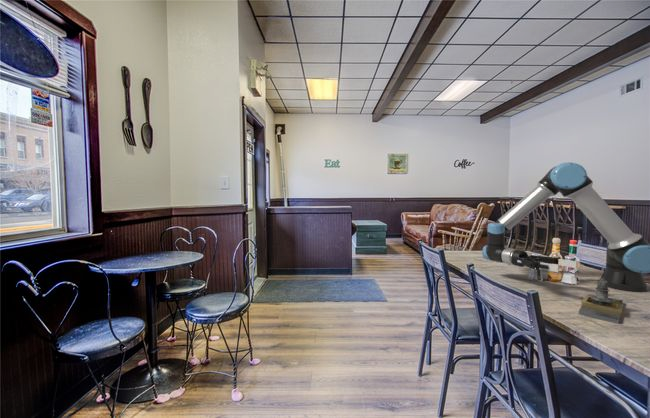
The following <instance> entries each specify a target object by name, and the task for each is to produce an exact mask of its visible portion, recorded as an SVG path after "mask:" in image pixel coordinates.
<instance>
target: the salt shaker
mask: <svg viewBox="0 0 650 418" xmlns="http://www.w3.org/2000/svg"><path fill="white" fill-rule="evenodd" d="M596 284H597V285H596V287H595V289H596V294H595V295H596V296H594V297H591V298H592V301H593V303H594V304H599V305H604V306H611V304H612V302H613V301H612V300H610V299H609V298H610V297H609V292H610V289H609V287H608V281H606V280H604V278H603V277H602V279H598V280H597V283H596Z"/></svg>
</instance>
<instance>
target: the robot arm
mask: <svg viewBox="0 0 650 418" xmlns="http://www.w3.org/2000/svg"><path fill="white" fill-rule="evenodd" d="M593 184H594V182H593V180H592V179H591V177H589V176H588V173H587V170H586V169H585V168H584V166H582V165H581V164H578V163H575V162H562V163H560V164H558V165H556V166H554V167H552V168H551V169H550V170H549V171H548V172H547V173H546V174H545V176H543V177H542V178H541V179H540V180H539V181H538V182H537V184H536V186H535V187H534V188H533V189H532V190H531V191H530V192H529V193H528V194H526V195H525V196H524V197H523V198H521V199H520V200H519V201H518V202H516V204H514V206H512V207H511V208H510V209H508V210H507V211H506V213H504V214H503V215H502V216H500V217H499V218H498V219H497V220H496V221H495V222H490V223H488V224H487V229H486V230H487V245H484V246H483V248H482V250H481V255H482V257H483V258H484V259H485V260H488V261H491V262H496V263H503V264H507V265H508V266H511V265H513V266H516V267H521V268H522V267H527V268H530V269H533V270H534V269H535V270H536V271H540V270H544V271H549V272H553V273H554V272H555V273H560V266H563V267H568V268H573V269H578V261H575V260H569V259H563V258H561V257H560V256H558V257H554V256H545V255H536V254H534V255H531V254H530V255H528V252H527V251H525V250H520V249H516V248H509V247H505V246H506V244H505V240H506V239H505V238H506V237H505V235H506V234H507V233H508V232H509V231H510V230H512V229H513V228H514V227H515V226H516V225H517V224H519V223H520V222H521V221H522V220H524V219H525V218H526V217H527V216H528V215H530V213H532V212H533V211H534V210H535V209H537V208H538V207H539V206H541V205H542V204H543V203H544V202H545V201H547V199H549V198H550V197H555V196H556V195H557V194H558V193H560V194H561V195H562V196H563V198H567V199H570V200H571V201H572V202H573V203H574V205H575V206H577V208H578V209H579V210H580V211H581V212H582V213H583V215H584V216H585V217H586V218H587V219H588V220H589V221H590V222H591V224H592V226H594V227H595V229H597V231H598V232H599V233H600V234H601V235H602V236H603V238H604V239H605V240H606V256H605V257H606V260H605V269H604V271H603V272H602V274H601V276H600V279H602V277H603V278H604V280H606V281H608V288H612V289H616V290H622V291H629V292H636V293H637V292H640V293H641V292H647V291H648V284H647V282H646V279H645V277H644V274H649V273H650V243H649V242H648V241H647V240H646V239H645V238H644V237H643V235H642V234H639V233H634V232H633V231H632V230H631V229H630V228H629V226H628V225H626V223H625V222H624V221H623V220H622V219H621V218H620V217H619V215H617V213H616V212H615V211H614V210H613V208H611V206H609V204H607V202H606V201H605V200H604V198H602V197H601V196H600V195H599V193H598V192H597V191H596V190H595V188H594V187H593ZM600 279H599V280H600Z"/></svg>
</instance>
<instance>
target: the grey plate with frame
mask: <svg viewBox="0 0 650 418" xmlns="http://www.w3.org/2000/svg"><path fill="white" fill-rule="evenodd" d="M594 296H596V294H592V293H591V294H590V293H588V294H587V295H584V297H583V299H582V300H581V304H580V308H579V310H578V315H579V314H580V316H583V315H584V317H589V318H592V319H597V320H601V321H606V322H609V323H613V324H618V325H619V323H620V318H621V317H622V313H623V302H624V301H623V299H617V298H612V297H608V298H609V299H610V300H612V301H613V302H612V304H611V306H604V305H599V304H594V303H593V301H592V298H591V297H594Z"/></svg>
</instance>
